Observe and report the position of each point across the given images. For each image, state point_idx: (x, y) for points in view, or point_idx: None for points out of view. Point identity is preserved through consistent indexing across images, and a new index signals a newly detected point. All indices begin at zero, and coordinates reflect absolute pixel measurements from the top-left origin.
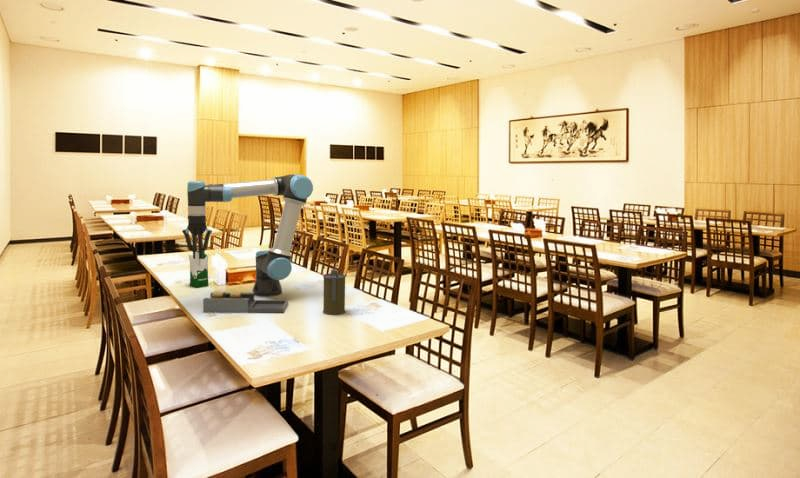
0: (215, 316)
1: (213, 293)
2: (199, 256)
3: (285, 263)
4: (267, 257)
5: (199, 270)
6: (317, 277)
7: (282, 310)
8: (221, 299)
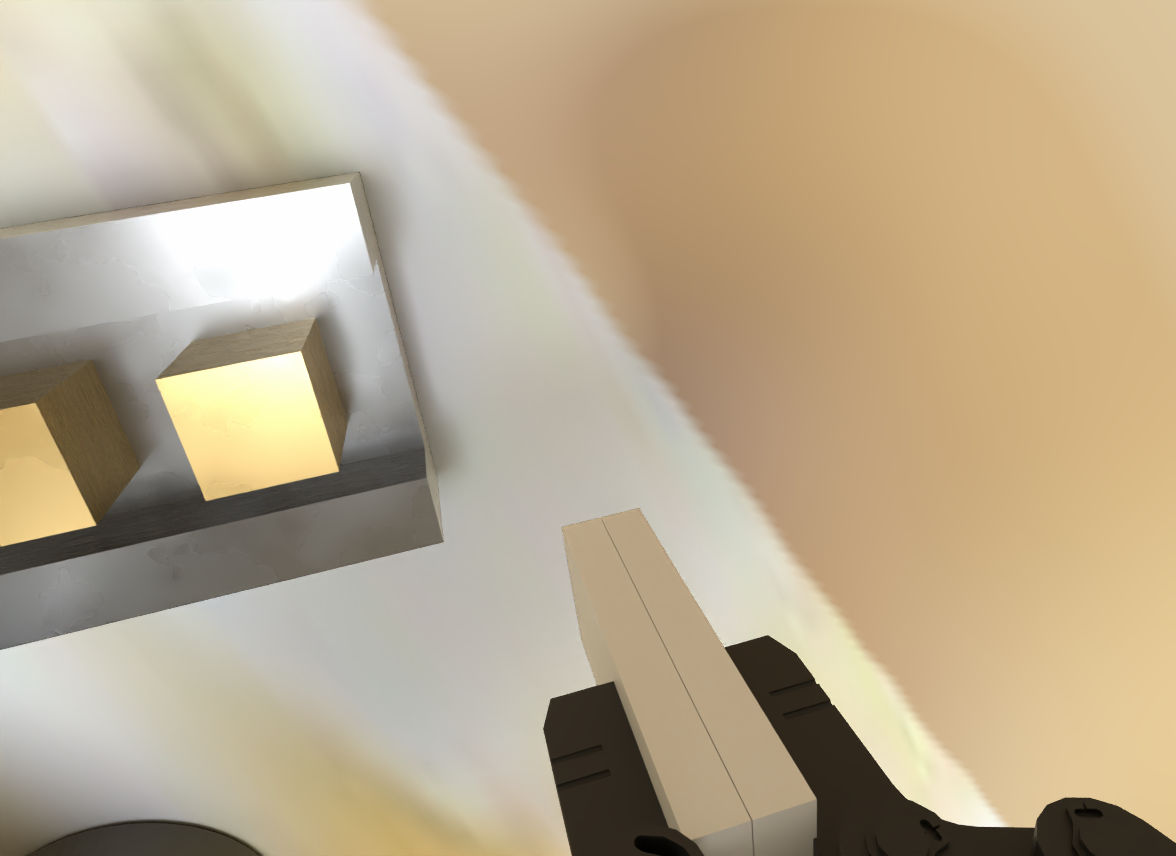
0: (105, 18)
1: (297, 373)
2: (621, 740)
3: None
4: None
5: None
6: None
7: None
8: (88, 238)
